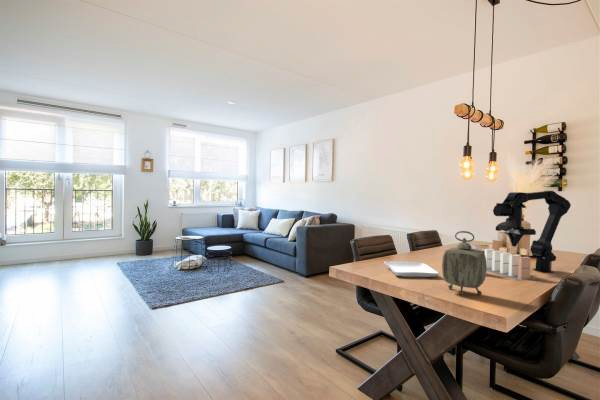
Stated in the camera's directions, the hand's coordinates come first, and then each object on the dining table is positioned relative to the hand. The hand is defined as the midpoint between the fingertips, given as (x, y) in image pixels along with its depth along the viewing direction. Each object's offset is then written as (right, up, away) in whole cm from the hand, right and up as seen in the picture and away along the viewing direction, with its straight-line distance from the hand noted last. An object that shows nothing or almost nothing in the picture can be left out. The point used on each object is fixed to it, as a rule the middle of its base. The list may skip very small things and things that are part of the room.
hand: (514, 246), depth 161 cm
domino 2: (-9, -12, -1) cm, 15 cm away
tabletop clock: (-46, -13, -37) cm, 61 cm away
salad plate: (-56, -13, -6) cm, 58 cm away
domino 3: (-8, -12, -5) cm, 16 cm away
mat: (-8, -13, -5) cm, 16 cm away
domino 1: (-10, -12, +4) cm, 16 cm away
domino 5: (-6, -13, -15) cm, 21 cm away
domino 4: (-7, -13, -10) cm, 18 cm away
